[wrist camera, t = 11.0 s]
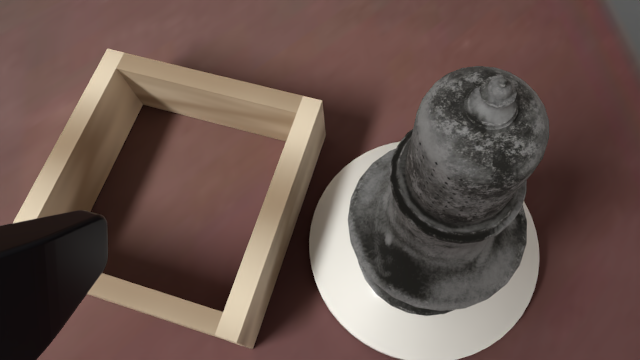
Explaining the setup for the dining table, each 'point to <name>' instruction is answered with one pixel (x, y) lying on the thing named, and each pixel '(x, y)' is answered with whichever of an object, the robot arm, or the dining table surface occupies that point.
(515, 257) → the grey tall domed piece
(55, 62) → the dining table surface
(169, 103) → the birch holder
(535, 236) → the coaster
